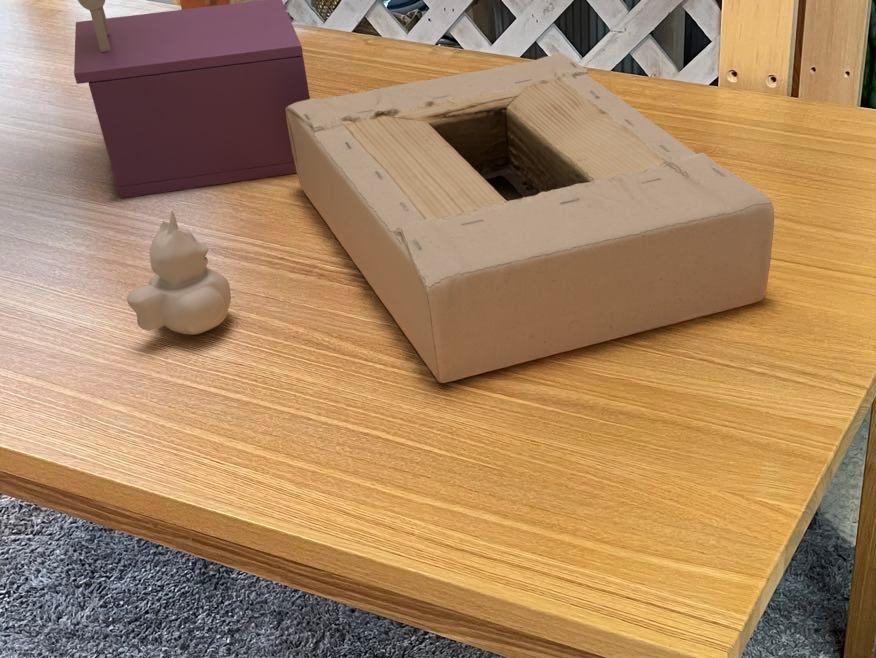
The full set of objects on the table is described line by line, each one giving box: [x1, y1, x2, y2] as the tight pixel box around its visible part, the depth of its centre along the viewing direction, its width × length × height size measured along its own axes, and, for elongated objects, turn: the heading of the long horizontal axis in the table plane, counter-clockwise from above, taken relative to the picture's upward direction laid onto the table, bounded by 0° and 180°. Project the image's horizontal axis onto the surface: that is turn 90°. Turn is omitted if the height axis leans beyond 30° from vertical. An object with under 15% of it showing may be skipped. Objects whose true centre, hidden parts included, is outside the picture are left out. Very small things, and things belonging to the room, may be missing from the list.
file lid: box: [73, 0, 304, 85], centre depth 90 cm, size 17×13×6 cm
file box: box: [88, 54, 311, 199], centre depth 95 cm, size 16×13×9 cm
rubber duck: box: [126, 209, 232, 336], centre depth 73 cm, size 5×7×8 cm
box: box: [285, 53, 775, 384], centre depth 82 cm, size 23×8×32 cm
